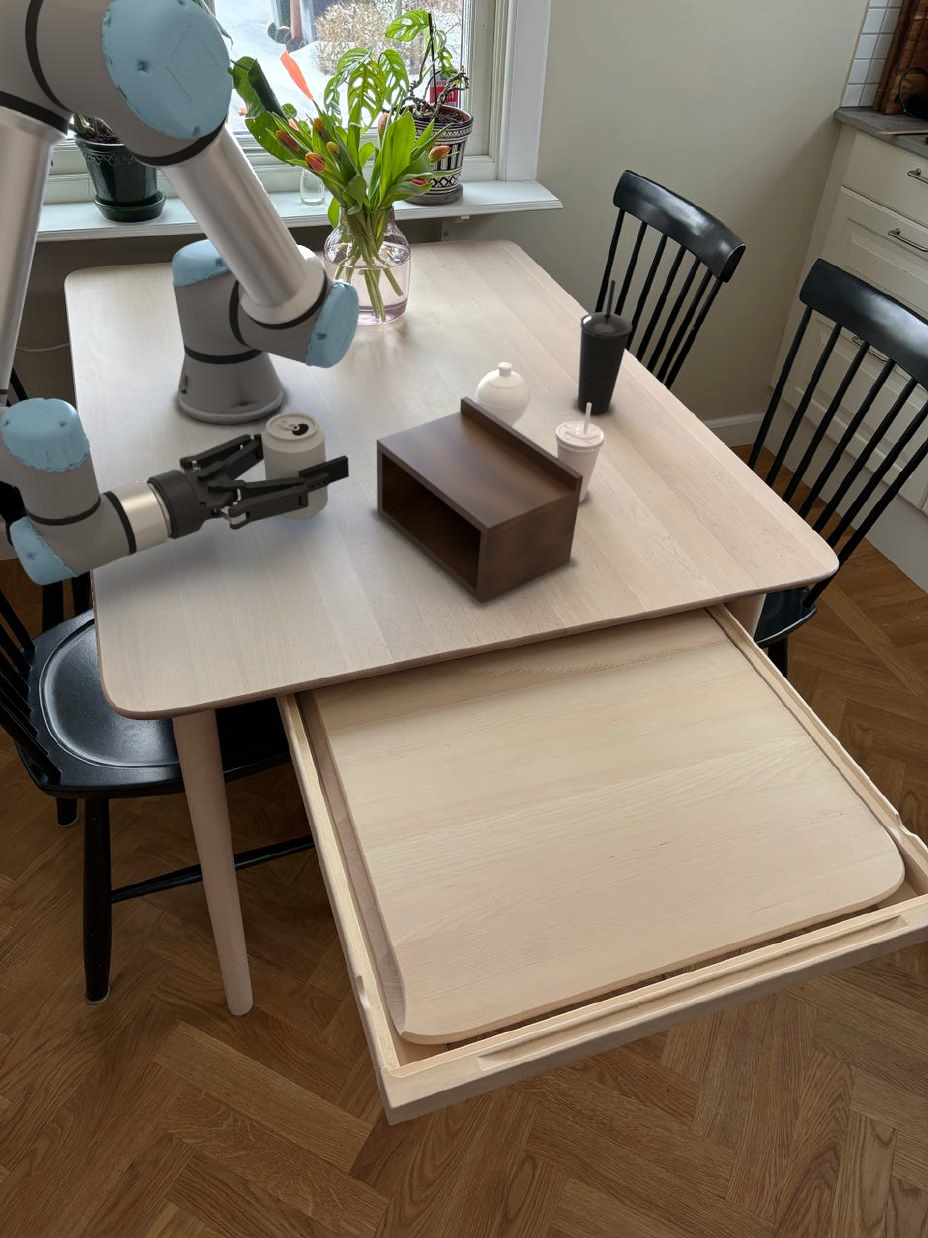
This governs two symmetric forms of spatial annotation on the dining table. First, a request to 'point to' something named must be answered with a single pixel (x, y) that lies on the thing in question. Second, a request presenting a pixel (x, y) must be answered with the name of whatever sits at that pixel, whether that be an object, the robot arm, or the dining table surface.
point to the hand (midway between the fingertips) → (329, 450)
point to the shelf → (479, 499)
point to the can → (295, 454)
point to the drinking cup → (601, 356)
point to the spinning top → (504, 394)
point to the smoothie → (580, 447)
